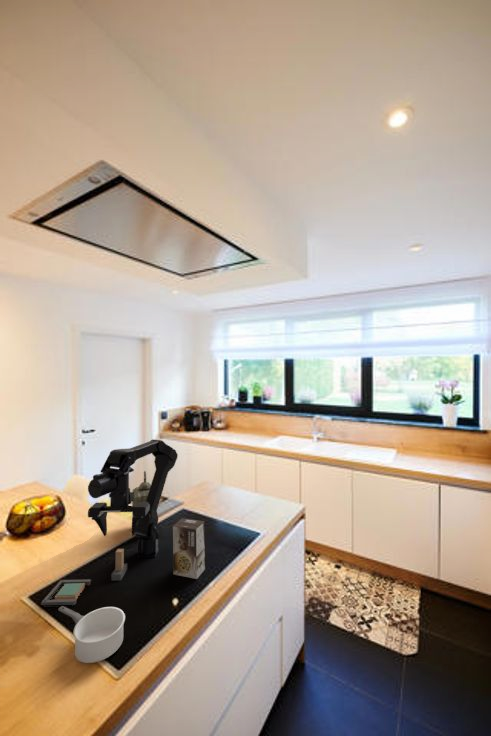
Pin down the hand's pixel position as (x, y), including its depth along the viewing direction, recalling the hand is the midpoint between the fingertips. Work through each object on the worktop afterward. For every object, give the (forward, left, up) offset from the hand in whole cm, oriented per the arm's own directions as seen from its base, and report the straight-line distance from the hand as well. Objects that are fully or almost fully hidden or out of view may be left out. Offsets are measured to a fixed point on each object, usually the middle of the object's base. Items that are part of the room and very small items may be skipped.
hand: (119, 535), depth 105 cm
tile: (+11, +9, -13) cm, 20 cm away
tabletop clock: (+1, -31, -13) cm, 34 cm away
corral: (+12, +9, -13) cm, 20 cm away
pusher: (0, 0, -13) cm, 13 cm away
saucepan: (-2, +27, -13) cm, 30 cm away
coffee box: (-23, -1, -13) cm, 27 cm away
